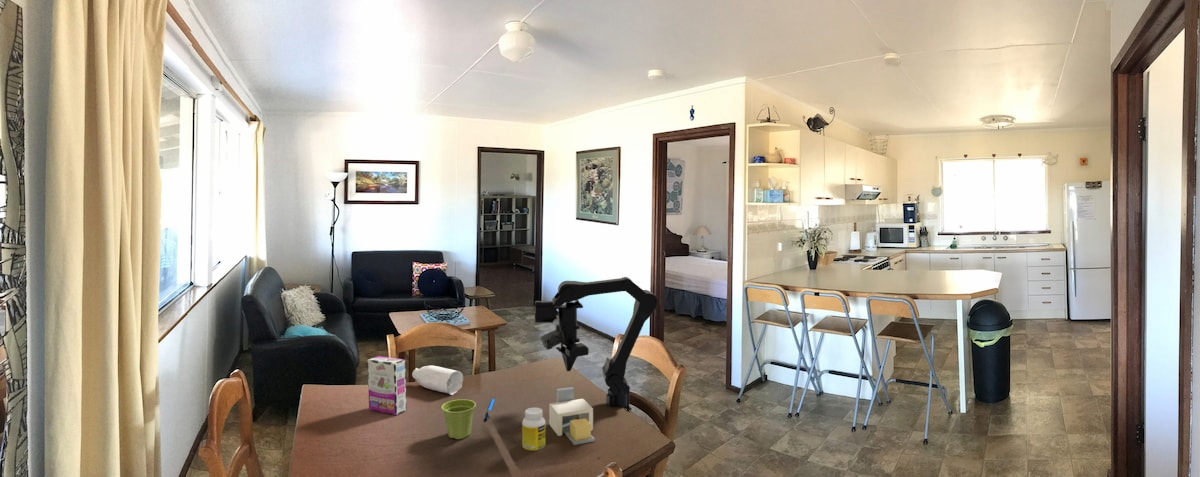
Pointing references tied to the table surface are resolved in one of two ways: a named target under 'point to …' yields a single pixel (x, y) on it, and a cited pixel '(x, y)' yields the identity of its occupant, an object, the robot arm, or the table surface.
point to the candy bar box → (387, 385)
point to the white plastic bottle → (439, 379)
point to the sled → (568, 395)
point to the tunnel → (569, 413)
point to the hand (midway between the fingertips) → (568, 370)
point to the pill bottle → (533, 429)
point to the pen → (489, 409)
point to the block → (580, 429)
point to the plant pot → (459, 417)
